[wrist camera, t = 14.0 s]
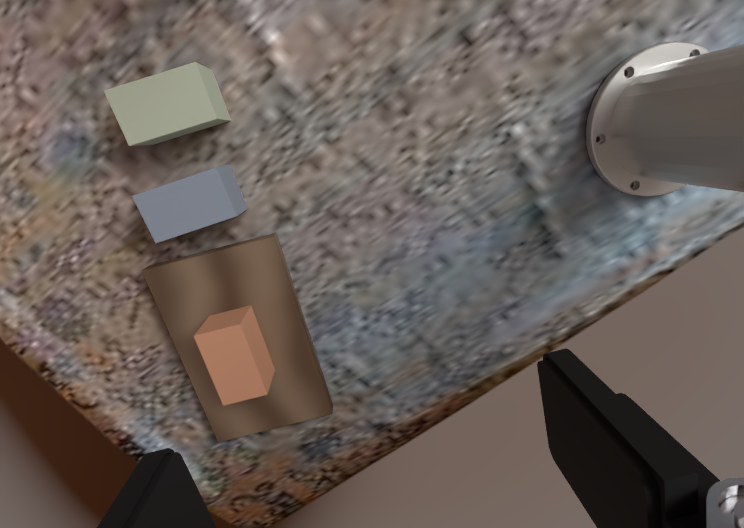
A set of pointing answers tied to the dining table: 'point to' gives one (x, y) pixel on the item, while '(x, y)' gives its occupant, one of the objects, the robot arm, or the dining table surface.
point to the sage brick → (168, 105)
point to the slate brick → (191, 203)
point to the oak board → (276, 322)
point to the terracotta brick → (235, 355)
